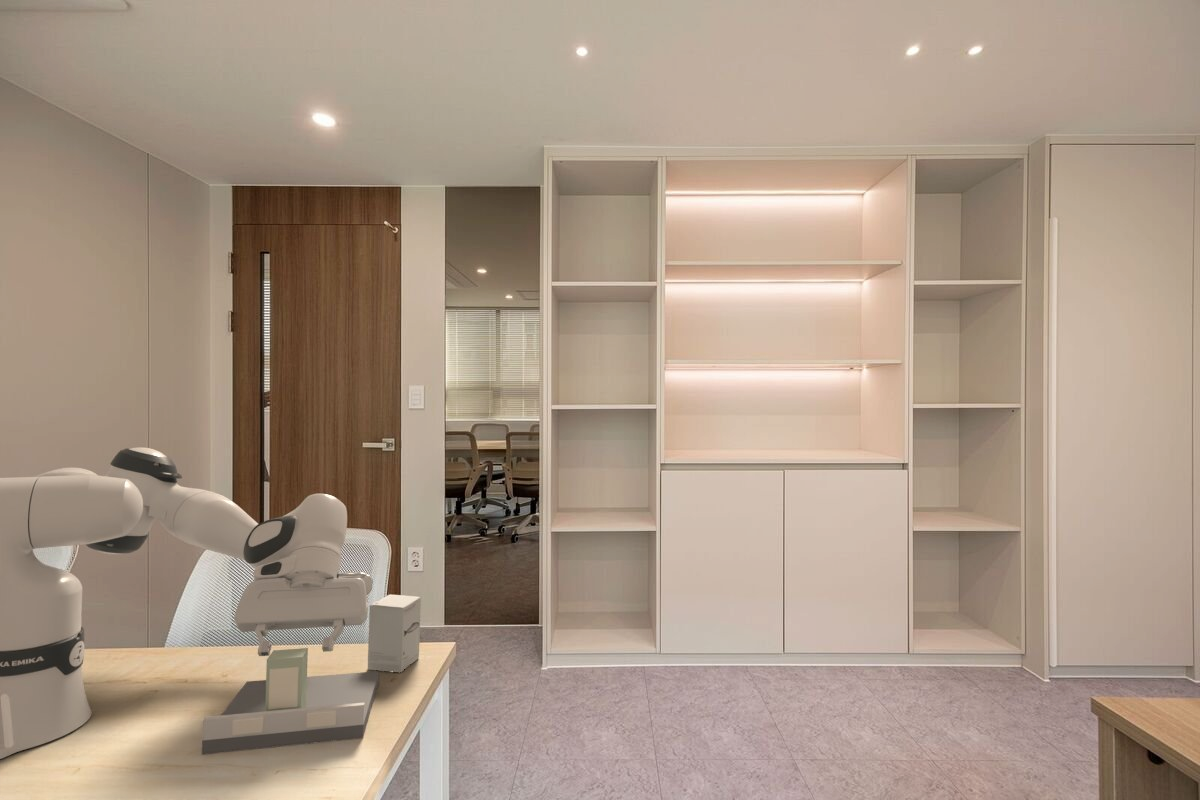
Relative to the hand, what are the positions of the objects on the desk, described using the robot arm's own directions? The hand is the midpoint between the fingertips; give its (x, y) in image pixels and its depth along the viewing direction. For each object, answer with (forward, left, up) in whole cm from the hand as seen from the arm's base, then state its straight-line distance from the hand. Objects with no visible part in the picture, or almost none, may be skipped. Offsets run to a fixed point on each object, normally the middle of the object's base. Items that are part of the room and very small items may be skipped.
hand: (295, 652), depth 96 cm
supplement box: (+14, +20, -11) cm, 26 cm away
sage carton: (-1, -2, -9) cm, 9 cm away
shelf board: (0, +3, -11) cm, 11 cm away
